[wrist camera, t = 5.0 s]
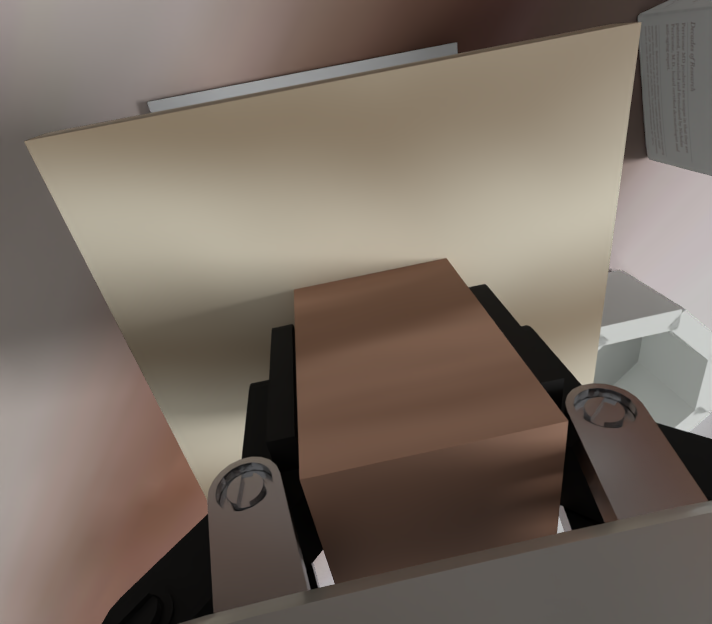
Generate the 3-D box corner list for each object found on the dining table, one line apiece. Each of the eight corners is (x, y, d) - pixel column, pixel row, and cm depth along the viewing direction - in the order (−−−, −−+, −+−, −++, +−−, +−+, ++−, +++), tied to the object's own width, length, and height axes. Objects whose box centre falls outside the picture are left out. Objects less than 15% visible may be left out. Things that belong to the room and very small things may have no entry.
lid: (46, 133, 10) (-298, 260, 4) (613, 23, 11) (1038, -3, 5) (225, 504, 17) (192, 759, 11) (569, 429, 17) (721, 634, 11)
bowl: (490, 293, 28) (533, 341, 23) (667, 255, 28) (746, 294, 23) (493, 429, 33) (528, 491, 29) (642, 395, 34) (701, 451, 29)
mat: (149, 101, 21) (146, 102, 20) (454, 42, 21) (457, 42, 21) (239, 355, 27) (239, 359, 27) (468, 306, 28) (470, 309, 28)
